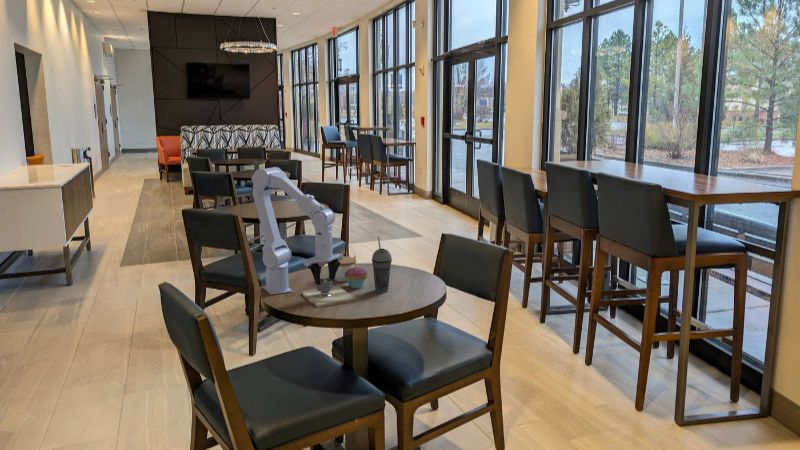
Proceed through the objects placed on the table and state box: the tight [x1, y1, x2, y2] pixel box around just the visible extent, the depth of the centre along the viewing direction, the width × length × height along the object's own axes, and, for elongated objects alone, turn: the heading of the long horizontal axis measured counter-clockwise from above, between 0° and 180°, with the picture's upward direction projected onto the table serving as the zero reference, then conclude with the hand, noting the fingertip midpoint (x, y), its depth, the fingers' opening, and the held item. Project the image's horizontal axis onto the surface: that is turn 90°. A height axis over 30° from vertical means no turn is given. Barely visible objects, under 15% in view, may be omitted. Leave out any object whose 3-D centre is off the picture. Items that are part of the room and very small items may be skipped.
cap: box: [316, 277, 334, 292], centre depth 203 cm, size 5×6×4 cm
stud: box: [319, 292, 331, 297], centre depth 204 cm, size 4×4×2 cm
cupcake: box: [345, 253, 368, 289], centre depth 216 cm, size 9×8×12 cm
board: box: [300, 285, 357, 308], centre depth 204 cm, size 16×14×1 cm
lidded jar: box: [334, 255, 354, 282], centre depth 225 cm, size 11×11×9 cm
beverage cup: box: [371, 236, 393, 294], centre depth 210 cm, size 7×7×20 cm
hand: (324, 282), depth 203 cm, fingers closed on cap, 5 cm apart
